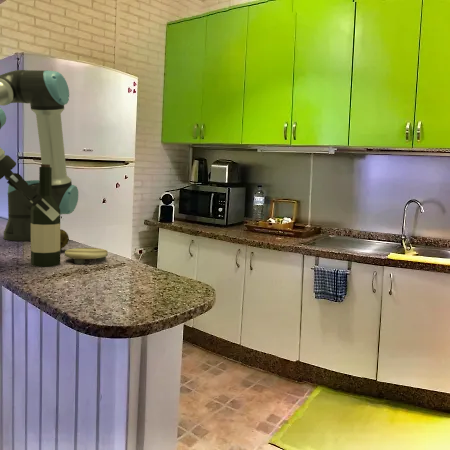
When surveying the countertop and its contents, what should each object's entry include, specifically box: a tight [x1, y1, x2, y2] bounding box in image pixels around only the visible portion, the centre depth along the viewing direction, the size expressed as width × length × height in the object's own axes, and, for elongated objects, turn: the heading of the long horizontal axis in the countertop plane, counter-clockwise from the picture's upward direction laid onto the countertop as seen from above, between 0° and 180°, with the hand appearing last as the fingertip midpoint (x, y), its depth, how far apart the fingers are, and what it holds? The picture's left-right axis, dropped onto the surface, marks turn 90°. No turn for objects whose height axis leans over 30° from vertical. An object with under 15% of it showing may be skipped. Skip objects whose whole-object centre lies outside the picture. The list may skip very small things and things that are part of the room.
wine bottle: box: [30, 163, 61, 268], centre depth 137 cm, size 8×8×30 cm
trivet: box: [64, 247, 108, 265], centre depth 146 cm, size 13×13×3 cm
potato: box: [60, 228, 70, 250], centre depth 160 cm, size 8×13×8 cm, turn 31°
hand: (52, 215), depth 138 cm, fingers open, 13 cm apart
